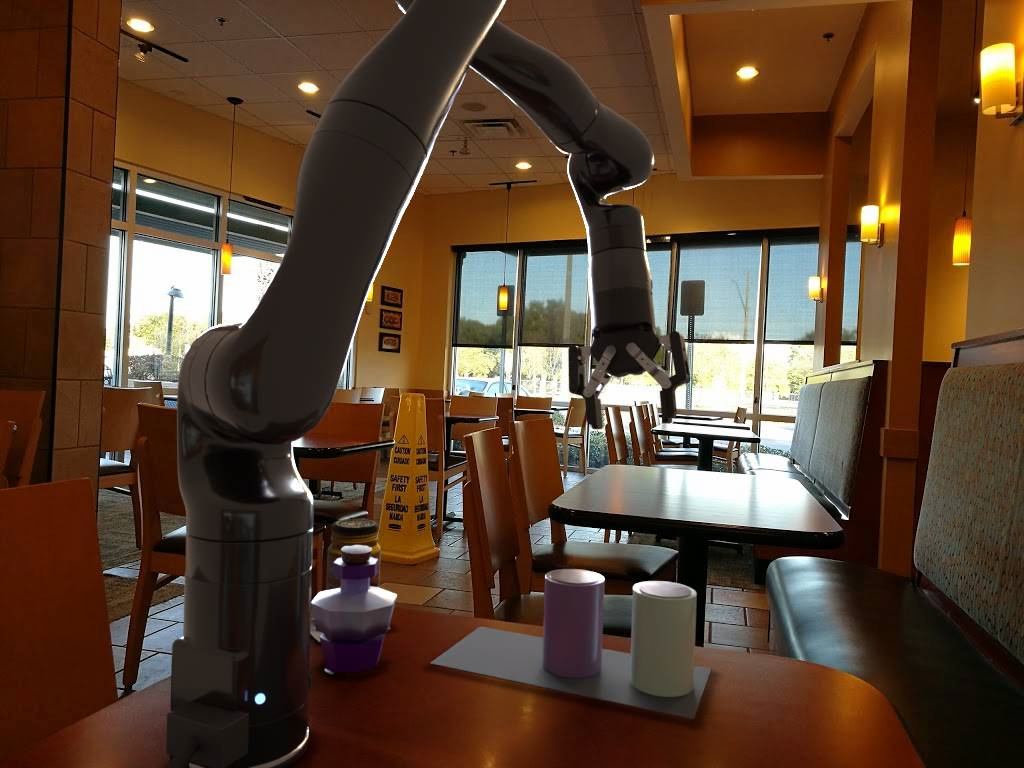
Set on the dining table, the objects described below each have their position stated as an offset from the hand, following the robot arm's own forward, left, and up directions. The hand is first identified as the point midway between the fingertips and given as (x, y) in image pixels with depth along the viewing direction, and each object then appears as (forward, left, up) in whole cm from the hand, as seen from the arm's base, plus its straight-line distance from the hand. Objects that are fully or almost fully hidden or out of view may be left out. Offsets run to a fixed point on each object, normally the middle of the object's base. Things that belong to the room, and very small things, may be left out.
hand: (631, 426), depth 86 cm
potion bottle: (-24, +22, -24) cm, 40 cm away
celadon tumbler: (-15, -7, -23) cm, 29 cm away
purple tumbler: (-15, +2, -23) cm, 28 cm away
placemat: (-15, +2, -24) cm, 28 cm away
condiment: (-15, +29, -24) cm, 41 cm away
